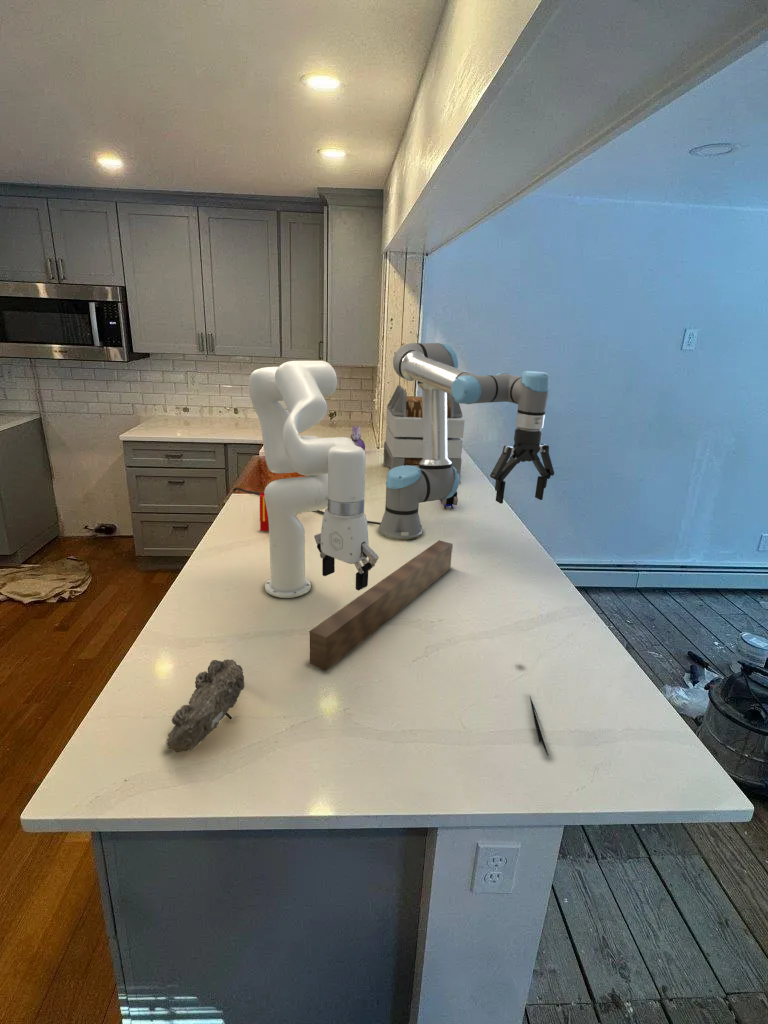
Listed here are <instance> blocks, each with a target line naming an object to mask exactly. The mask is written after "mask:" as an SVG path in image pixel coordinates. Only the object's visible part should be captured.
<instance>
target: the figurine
mask: <svg viewBox="0 0 768 1024" xmlns="http://www.w3.org/2000/svg"><path fill="white" fill-rule="evenodd" d="M360 431H361V425H360V424H358V425H357V426H355V425H352V426H351V433H350V439H351V440H352V441H353V442H354V444H355V445H356V446H359V447H361V448H362V449H363V450H364V451H366V444H365V442H364V440H363V439H362V435H361V433H360Z"/></svg>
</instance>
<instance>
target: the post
mask: <svg viewBox="0 0 768 1024" xmlns="http://www.w3.org/2000/svg"><path fill="white" fill-rule="evenodd" d="M452 553H453V543H452V542H447V541H443V540H438V541H436V542H435V543H433V544H432V545H430V546H429V547H427V548H426V549H424V550H423V551H422V552H420V553H419V554H417V555H416V556H415V557H413V558H411V559H410V560H409V561H406V563H405V564H403V565H402V566H400V567H399V568H397V569H396V570H394V571H393V572H392V573H390V574H389V575H387V576H386V577H384V578H383V579H382V580H380V581H379V582H377V583H376V584H374V585H373V586H372V587H370V588H368V589H367V590H366V591H365V592H363V593H362V594H360V595H359V596H357V597H356V598H354V599H353V600H351V601H350V602H349V603H347V604H346V605H345V606H343V607H341V608H340V609H338V610H337V611H336V612H334V613H333V614H332V615H330V616H328V618H326V619H324V620H323V621H322V622H320V623H318V624H317V625H316V626H314V627H313V628H311V629H310V630H309V665H311V666H313V667H315V668H318V669H320V670H322V671H325V672H327V671H328V670H330V669H331V668H332V667H333V666H334V665H336V664H337V663H338V662H340V660H342V659H343V658H344V657H345V656H346V655H348V654H349V653H350V652H351V651H352V650H354V649H355V648H357V646H359V645H360V644H361V643H362V642H364V641H365V640H366V639H367V638H368V637H369V636H371V635H373V633H375V632H376V631H377V630H378V629H379V628H380V627H382V626H383V625H384V624H385V623H387V622H388V621H389V620H390V619H392V618H393V617H394V616H395V615H397V613H398V612H400V611H401V610H402V609H404V608H405V607H406V606H407V605H409V604H410V603H411V602H412V601H413V600H415V599H416V598H418V596H419V595H420V594H422V593H423V592H424V591H426V590H427V589H428V588H429V587H431V586H432V585H433V584H434V583H435V582H437V580H439V579H440V578H441V577H442V576H444V575H445V574H446V573H447V572H449V571H450V570H451V563H452Z"/></svg>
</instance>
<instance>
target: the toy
mask: <svg viewBox="0 0 768 1024" xmlns="http://www.w3.org/2000/svg"><path fill="white" fill-rule="evenodd" d="M259 493H260V495H259V526H260V528H259V529H260V531H259V532H269V521H268V513H267V508H266V503H265V497H264V492H259Z"/></svg>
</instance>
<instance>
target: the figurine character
mask: <svg viewBox="0 0 768 1024" xmlns="http://www.w3.org/2000/svg"><path fill="white" fill-rule="evenodd" d="M439 501H440V503H441V505H442V506H443V508H444V509H445V510H447V508H448V507H450V508H451V510H454V506H458V501H459V497H458V490H457V491H456V493H455V494H454V495H453V496H452V497H450V498H446V499H443V500H439Z"/></svg>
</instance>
